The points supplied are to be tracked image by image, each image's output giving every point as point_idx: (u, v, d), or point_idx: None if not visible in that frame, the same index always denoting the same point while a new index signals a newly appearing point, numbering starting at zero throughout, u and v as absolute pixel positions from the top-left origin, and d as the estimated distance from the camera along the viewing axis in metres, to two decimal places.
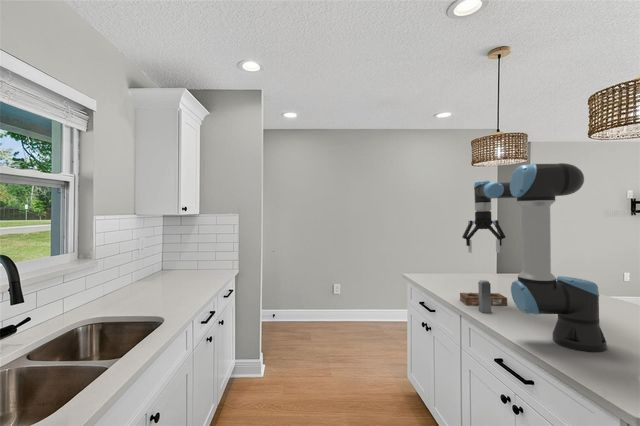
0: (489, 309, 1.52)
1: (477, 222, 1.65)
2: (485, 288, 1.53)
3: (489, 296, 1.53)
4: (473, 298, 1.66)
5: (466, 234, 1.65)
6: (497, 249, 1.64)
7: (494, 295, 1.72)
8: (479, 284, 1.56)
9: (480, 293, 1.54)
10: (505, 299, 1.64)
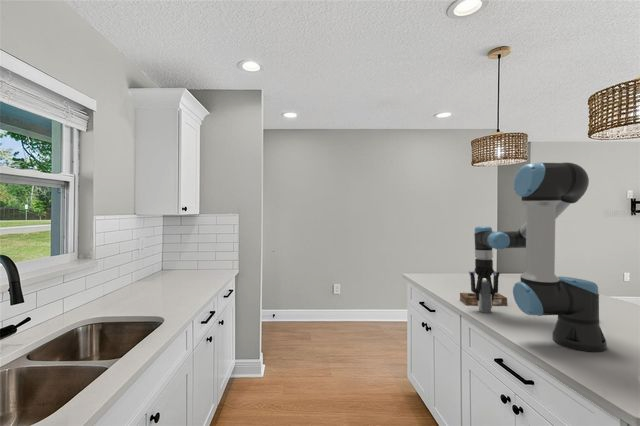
0: (489, 309, 1.52)
1: (477, 271, 1.54)
2: (485, 288, 1.53)
3: (489, 296, 1.53)
4: (473, 298, 1.66)
5: (474, 288, 1.54)
6: None
7: (494, 295, 1.72)
8: None
9: (480, 293, 1.54)
10: (505, 299, 1.64)
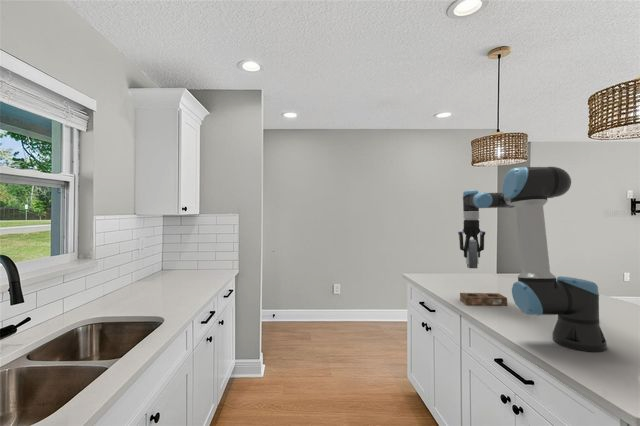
0: (476, 265, 1.69)
1: (465, 230, 1.70)
2: (472, 246, 1.69)
3: (476, 253, 1.69)
4: (473, 298, 1.66)
5: (462, 246, 1.70)
6: None
7: (494, 295, 1.72)
8: None
9: (468, 250, 1.70)
10: (505, 299, 1.64)
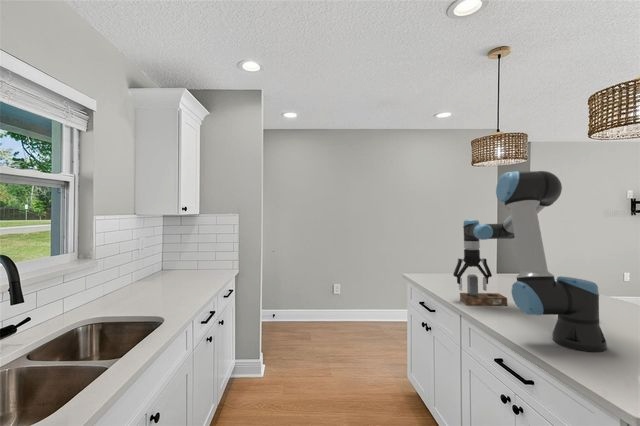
0: None
1: (466, 260, 1.70)
2: (473, 281, 1.69)
3: (476, 288, 1.68)
4: (473, 298, 1.66)
5: (456, 272, 1.70)
6: (484, 287, 1.69)
7: (494, 295, 1.72)
8: (467, 278, 1.72)
9: (469, 286, 1.70)
10: (505, 299, 1.64)
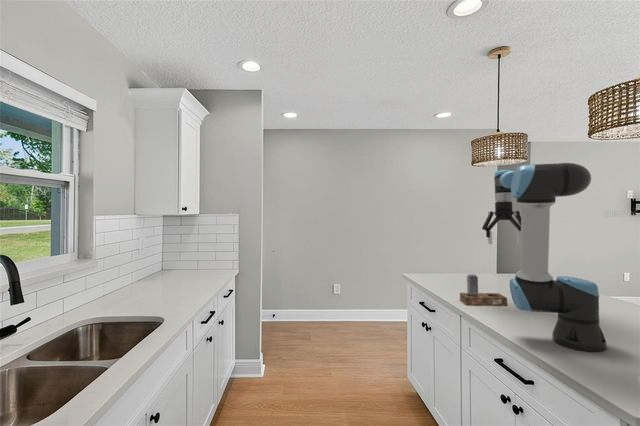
0: None
1: (497, 213, 1.61)
2: (473, 281, 1.69)
3: (476, 288, 1.68)
4: (473, 298, 1.66)
5: (486, 225, 1.61)
6: (518, 240, 1.60)
7: (494, 295, 1.72)
8: (467, 278, 1.72)
9: (468, 285, 1.70)
10: (505, 299, 1.64)
